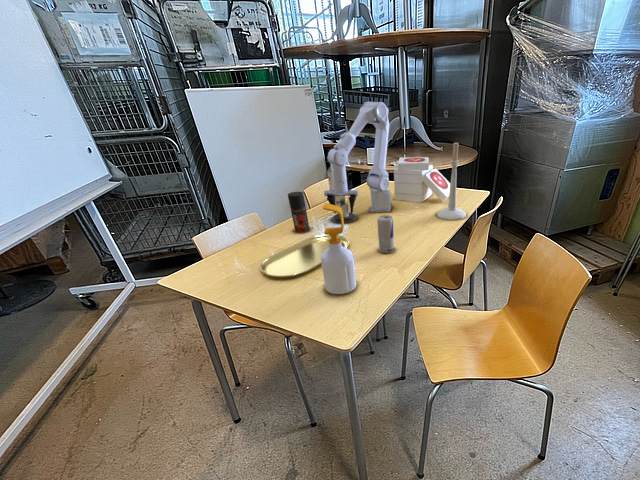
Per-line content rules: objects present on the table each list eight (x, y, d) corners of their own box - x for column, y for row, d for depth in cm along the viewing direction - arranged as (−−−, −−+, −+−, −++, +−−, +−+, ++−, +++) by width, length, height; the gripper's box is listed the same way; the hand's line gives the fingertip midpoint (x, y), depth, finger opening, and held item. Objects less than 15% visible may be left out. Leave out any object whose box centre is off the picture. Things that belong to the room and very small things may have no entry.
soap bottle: (327, 280, 103) (314, 200, 89) (356, 278, 103) (348, 198, 90) (324, 295, 95) (309, 211, 82) (356, 293, 96) (346, 209, 82)
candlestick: (463, 210, 155) (469, 139, 138) (467, 219, 144) (474, 144, 128) (436, 210, 155) (438, 139, 139) (438, 220, 145) (441, 144, 128)
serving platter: (360, 244, 125) (359, 240, 124) (289, 285, 100) (288, 281, 99) (322, 235, 133) (322, 231, 133) (248, 271, 109) (247, 267, 108)
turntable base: (358, 215, 152) (358, 212, 152) (354, 223, 143) (354, 221, 143) (335, 215, 153) (334, 212, 153) (329, 223, 144) (329, 221, 143)
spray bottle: (336, 213, 152) (334, 196, 148) (356, 213, 151) (354, 196, 147) (331, 220, 144) (329, 203, 140) (352, 220, 144) (350, 203, 139)
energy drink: (396, 248, 121) (395, 215, 115) (391, 254, 117) (389, 221, 111) (382, 246, 123) (380, 214, 116) (376, 252, 119) (374, 219, 112)
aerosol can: (332, 203, 168) (326, 161, 157) (346, 203, 168) (341, 160, 158) (331, 207, 162) (325, 164, 152) (345, 207, 163) (340, 163, 152)
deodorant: (311, 227, 141) (305, 191, 132) (307, 233, 136) (300, 195, 127) (298, 227, 141) (290, 191, 133) (292, 232, 136) (285, 195, 128)
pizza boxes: (445, 206, 160) (447, 166, 151) (389, 199, 171) (387, 162, 161) (456, 195, 175) (459, 158, 165) (404, 190, 186) (404, 155, 176)
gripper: (320, 183, 136) (325, 215, 144) (355, 182, 135) (358, 215, 143) (324, 178, 142) (329, 210, 150) (358, 178, 141) (361, 210, 149)
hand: (343, 212), depth 147 cm, fingers open, 7 cm apart
